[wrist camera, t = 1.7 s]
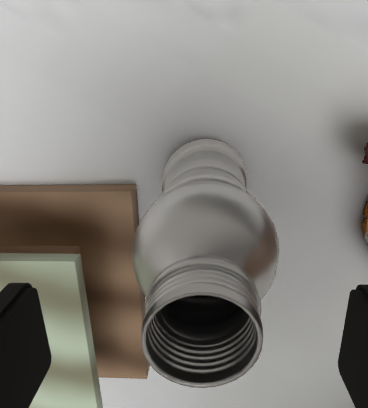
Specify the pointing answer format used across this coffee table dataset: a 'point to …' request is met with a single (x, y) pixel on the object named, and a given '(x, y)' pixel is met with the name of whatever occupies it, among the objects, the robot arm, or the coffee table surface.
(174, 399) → the coffee table surface
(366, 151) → the mug
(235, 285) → the plastic bottle
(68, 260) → the walnut stand
